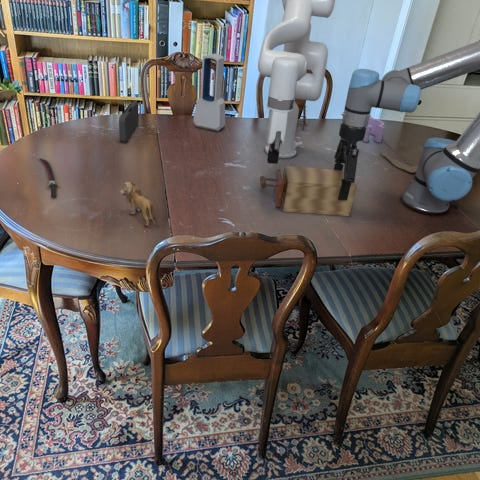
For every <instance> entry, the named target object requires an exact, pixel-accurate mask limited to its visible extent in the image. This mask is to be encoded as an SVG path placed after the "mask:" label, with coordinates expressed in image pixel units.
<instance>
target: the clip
mask: <svg viewBox="0 0 480 480" xmlns="http://www.w3.org/2000/svg"><path fill="white" fill-rule="evenodd" d="M385 129H386V127H385V122H384V121H383V120H380V119H377V118H374V117H372V115H371V114H370V117H369V121H368V125H367V126H366V132H365V136H364V139H363V140H362V141H363V142H364V143H368V142H369V140H370V135H372V136H374V139H373V140H374V142H376V143H382V140H383V137H384V132H385Z"/></svg>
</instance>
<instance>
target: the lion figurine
mask: <svg viewBox="0 0 480 480" xmlns="http://www.w3.org/2000/svg"><path fill="white" fill-rule="evenodd" d="M119 193H120V194H121V196H122V197H124V196H125V198H126V199H127V200H128V202H129V203H130V207H131V211H130V212H129V213H130V215H135V214H136V211H137V212H141V214H142V216H143V218H144V219H145V223H144V225H145V227H149V226H150V221H152V223H153V225H155V226H159V222H156V221H155V219H154V217H153V216H154V215H153V204H152V202H151V200H150V199H148V198H146V197H145V196H144V195H143V194H142V192H141V190H140V187H138V185H136V184H135V183H133V182H132V181H125V182H124V186H122V188H121V189H119ZM136 207H137V208H136ZM148 214H149V216H148Z"/></svg>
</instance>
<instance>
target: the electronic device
mask: <svg viewBox="0 0 480 480" xmlns="http://www.w3.org/2000/svg"><path fill="white" fill-rule="evenodd" d="M212 61H214V62H215V66H214V83H213V84H214V85H213V95H210V87H211V72H212V71H211V69H212ZM224 63H225V56H223V55H221V54H219V53H209V54H207V55H205V56H202V63H201V64H202V65H201V66H202V67H201V87H200V98H198V99H197V100H196V103H195V108H194V115H193V125H194V126H195V128H201V129H205V130H209V131H214V132H219V131H220V130H222V129H223V128H224V127H225V126H226V101H225V100H224V98H223V97H222V92H223V77H224V65H225V64H224Z"/></svg>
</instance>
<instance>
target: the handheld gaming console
mask: <svg viewBox="0 0 480 480" xmlns="http://www.w3.org/2000/svg"><path fill="white" fill-rule="evenodd" d="M138 126H139V103H138V101H131V102H130V103H129V104H128V105H127V107H126V108H125V109H124V110H123V112H122V113H121V114H120V116H119V117H118V131H119V133H118V134H119V141H120V142H121V143H127V142H128V141H129V139H130V138H131V136H132V135H133V134H134V132H135V131H136V129H137V128H138Z"/></svg>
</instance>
